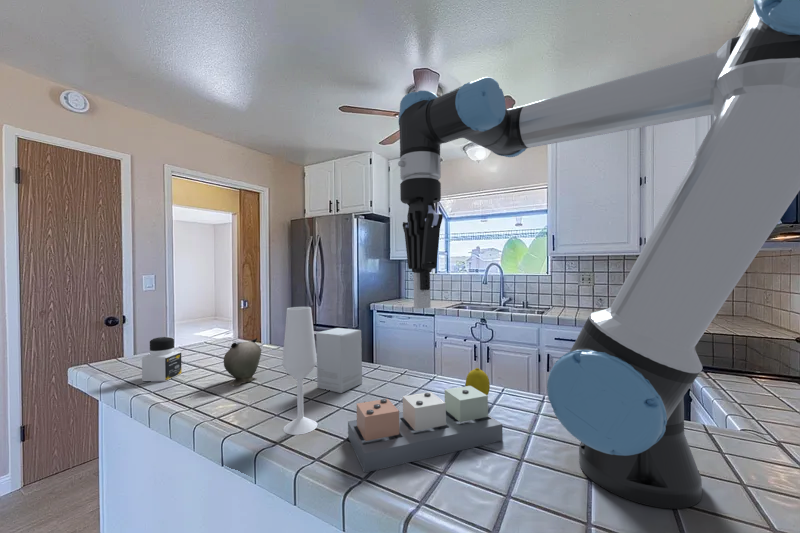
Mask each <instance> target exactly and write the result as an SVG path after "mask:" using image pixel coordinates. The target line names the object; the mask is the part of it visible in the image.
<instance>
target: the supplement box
mask: <svg viewBox="0 0 800 533" xmlns="http://www.w3.org/2000/svg"><path fill="white" fill-rule="evenodd" d="M315 335H316V336H315V347H316V357H317V363H316V377H317V378H316V381H317V382H316V384H317V386H316V387H318V389H321V390H325V389H326V390H327V391H329V390H330V391H331V392H334V393H339V394H342V393H344V392H347V391H349V390H351V389H353V388H355V387H357V386H360V385H362V384H363V361H362V360H363V358H362V354H363V353H362V350H363V349H362V330H361V329H354V328H353V329H352V328H343V327H334V328H331V329H326V330H322V331H317V332H316V333H315ZM326 390H325V391H326Z"/></svg>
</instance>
